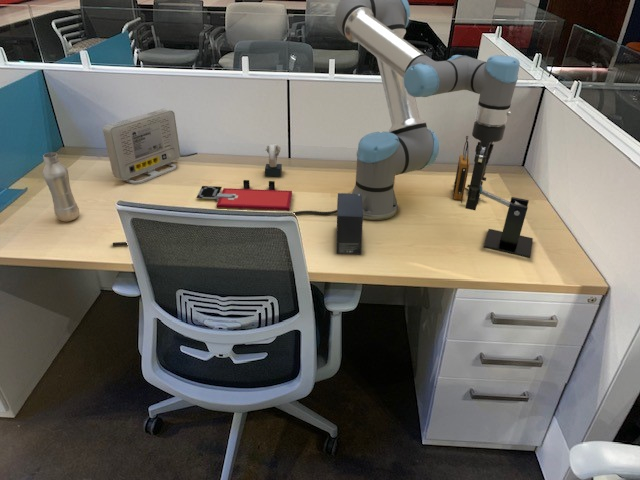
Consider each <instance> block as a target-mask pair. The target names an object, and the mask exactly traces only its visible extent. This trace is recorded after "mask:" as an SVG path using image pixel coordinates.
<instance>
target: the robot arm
mask: <svg viewBox="0 0 640 480" xmlns="http://www.w3.org/2000/svg"><path fill="white" fill-rule="evenodd" d="M410 17H411V8H410V3H409V0H339V2H338V4H337V6H336V9H335V13H334V22H335V25H336V27H337V29H338V31H339V33H340V34H341V36H343V37H344V38H346V39H347V40H348V41H350V42H351V43H358V44H360V45H361V46H362V47H363V48H364V49H366V50H367V51H368V52H369V53H371V54H372V55H374V57H375V58H376V61H377V65H378V69H379V74H380V79H381V83H382V88H383V92H384V96H385V101H386V105H387V109H388V115H389V119H390V123H391V127H390V129H389V130H388V131H374V132H370V133H368V134H366V135H364V136H363V137H361V138H360V140H359V141H358V145H357V151H356V168H355V170H356V172H355V185H354V187H353V190H352V192H351V193H358V194H362V207H363V220H366V221H367V220H368V221H383V220H388V219H391V218H392V217H394V216H395V215H396V214H397V213H398V206H399V205H398V200H397V197H396V192H395V188H394V187H395V180H396V179H395V178H396V176H399V175H403V174H407V173H412V172H416V171H421V170H423V169H425V168H428V167H430V166H432V165H433V164H434V163H435V162H436V159H437V158H438V156H439V153H440V141H439V138H438V135H437V134H436V133H435V132H434V130H432V129H430V128H428V125H427V122H426V121H425V120H423V119H422V118H421V117H420V113H419V107H418V104H417V103H418V102H417V100H416V98H428V97H431V96H436V95H441V94H445V93H446V94H447V93H453V92H459V91H469V92H472V93H474V94H478V95H479V97H478V98H479V99H478V103H477V107H476V112H475V116H474V120H475V121H474V123H473V127H472V132H471V136H472V137H473V138H474V139H475V140H479V141H478V142H477V144H476V147H475V155H474V160H473V162H474V165H473V169H472V174H471V178H470V184H466V185H467V186H466V188H468V190H469V191H468V192H469V193H468V192H467V198H466V202H465V207H464V209H467V210H470V211H476V209H477V205H478V204H479V202H480V200H479V198H481V194H479V193H480V189H481V185H482V186H483V184H484V182H486V181H487V177H485V175H486V170H487V166H488V163H489V160H490V158H491V155H492V152H493V149H494V146H495V144H494V143H498V142H501V141H502V140H503V139H504V134H505V131H506V124H507V121H508V117H509V116H511V115H512V111H510V109H511V104H512V100H513V96H514V93H515V89H516V85H517V82H518V80H519V73H520V72H519V71H520V66H521V62H520V60H519V59H518V58H517V57H514V56H511V55H503V54H493V55H490V56H489V57H488V58H487V59H486V61H484V60H481V59H478V58H475V57H471V56H469V55H461V54H455V55H451V57H449V58H448V59H447V60H439V61H435V60H434V59H432V58H431V57H429V56H428V55H426V54H425V53H423V51H421V50H419V49H418V48H417V47H415V46H414V45H413V44H411V43H410V42H409V41H407V40H406V39H404V37H405V35H406V33H407V30H406V28H407V27H408V25H409V22H410V19H409V18H410ZM469 188H470V189H469ZM293 213H295V214H296V215H295V216H297V215H306V214H308V215H311V214H312V215H321V216H326V215H327V216H329V215H334V214H335V215H336V214H337V209H334V210H331V211H317V210H299V211H293ZM126 242H127V241H120V242H112V246H113V247H119V246H128V245H127V243H126Z"/></svg>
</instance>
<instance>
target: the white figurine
mask: <svg viewBox="0 0 640 480" xmlns="http://www.w3.org/2000/svg"><path fill="white" fill-rule="evenodd" d="M264 151H266V152H267V154H268V163H265V167H264V173H265V174H264V175H265V176H264V177H265V178H281V177H282V173H283V167H282V165H283V164H282V163H278V157H279V155H280V153H281V146H280V145H279V144H276V143H269V144H268V145H267V146H266V147H265V150H264Z"/></svg>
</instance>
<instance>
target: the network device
mask: <svg viewBox="0 0 640 480" xmlns="http://www.w3.org/2000/svg"><path fill="white" fill-rule="evenodd" d="M176 120H177V119H176V115H175V112H174V110H171V109H167V108H160V109H156V110H153V111H150V112H147V113H143V114H140V115H136V116H133V117H132V116H131V117H129V118H126V119H122V120H118V121H116V122H112V123H108V124H105V125H104V126H103V128H102V133H103V138H104V142H105V145H106V150H107V155H108V159H109V164H110V167H111V171H112V176H113V177H114V178H117V179H118V180H121V181H124V182H127V183H129V184H133V185H139V184H143V183H145V182H148V181H150V180H152V179H155V178H158V177H159V176H162V175H165V174H167V173H170V172H172V171H175V170H176V169H177V165H176V164H175V163H173V162H174V161H175V162H176V161H178V160H179V159H180V158H181V148H180V142H179V134H178V129H177V128H178V127H177V122H176ZM165 165H166V166H168V167H170V168H168V169H167V168H166V169H165V170H162V171H156V169H157V168H160V167H162V166H165ZM142 174H145V175H148V177H144V178H143V179H140V180H134V179H131V178H135V177H136V176H139V175H142Z"/></svg>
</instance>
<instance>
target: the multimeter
mask: <svg viewBox="0 0 640 480" xmlns="http://www.w3.org/2000/svg"><path fill="white" fill-rule="evenodd" d="M468 139H469V135H466V136H465V142H464V146H463V154H459V157H458V162H457V166H456V167H457V168H456V173H455V179H454V183H453V184H454V185H453V189H452V191H453V192H452V193H453V200H455V201H456V200H457V201H460V203H461V204H463V199H464V194H465V190H467V191H468V192H467V194H468V193H469V188H467V187H466V185H467V180H468V174H469V170H470V158H469V141H468ZM479 201H483V202H485V200H484V199H482V198H481V197H479Z"/></svg>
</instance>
